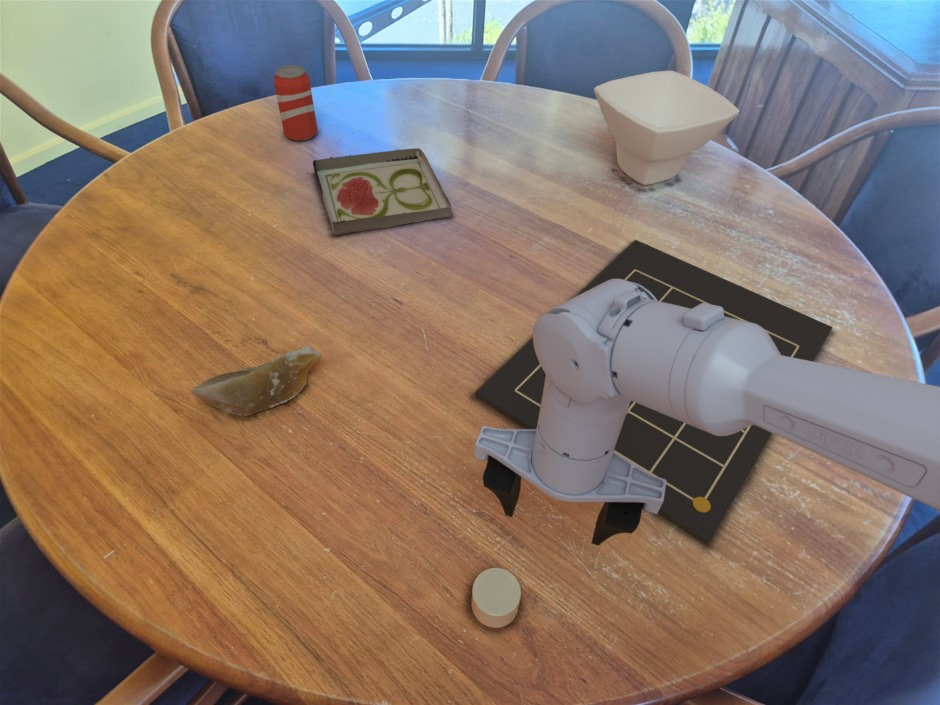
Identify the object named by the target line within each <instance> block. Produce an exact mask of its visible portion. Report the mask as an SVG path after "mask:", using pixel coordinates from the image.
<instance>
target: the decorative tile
mask: <svg viewBox="0 0 940 705" xmlns="http://www.w3.org/2000/svg"><path fill="white" fill-rule="evenodd" d="M312 166H313V171H314V174H315V177H316V180H317V183H318V186H319V189H320V193H321V196H322V199H323V203H324V206H325V209H326V213H327V215H328V216H327V217H328V219H329V221H330V222H329V223H330V226H331V228H332V234H333V235H335V236H341V235H345V234H353V233H358V232H364V231H372V230H379V229H386V228H392V227H396V226H401V225H408V224H412V223H419V222H424V221H430V220H436V219H442V218H443V219H444V218H450V217H451V216H452V208H451V206H452V204H451V202H450V201H449V198H448V197H447V196H446V194H445V191H444V189H443V188H442V186H441V183H440V181H439V179H438V178H437V176H436V173H435V172H434V169H433V168H432V166H431V164H430V162H429V159H428V158H427V156H426V154H425V152H424V151H423V150H422V149H421V148H419V147H417V148H416V147H415V148H405V149H397V148H396V149H394V150H388V151H379V152H378V151H377V152H370V153H369V152H368V153H363V154H362V153H361V154H360V153H359V154H350V155H344V156H343V155H342V156H337V157H334V156H329V158H328V157H327V158H320V159H313V160H312Z"/></svg>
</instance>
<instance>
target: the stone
mask: <svg viewBox="0 0 940 705" xmlns="http://www.w3.org/2000/svg"><path fill="white" fill-rule="evenodd" d="M321 358H322V353H321V352H320V351H317V350H316V349H314V348H313V347H311V346H310V345H305V346H304V347H302V348H299V349H295V350H291V351H289V352H286V353H285V354H283V355H280V356H279V357H277V358H274V359H273V360H272V361H268V362H267V363H264V364H261V365H257V366H249V367H246V368H242V369H240V370H236V371H232V372H226V373H221V374H217V375H215V376H212V377H210V378H208V379H206V380H204V381H203V382H201V383H200V384H199V385H197V386H195V387H193V388H192V389H191V390H190V392H191V394H193V395H194V396H195V397H196V398H198V399H199V400H201V401H202V402H204V403H205V404H207V405H208V406H210V407H212V408H213V407H214V408H215V409H219V410H221V411H223V412H226V413H229V414H231V415H236V416H245V417H248V416H252V415H254V414H257V413H259V412H261V411H265V410H268V409H273V408H274V407H276V406H279V405H281V404H285V403H287V402H289V401H290V400H292V399H294V398H296V397H297V396H298V395H299V393H300V392H301V391H302V390H303V389H304V387H305V386H307V376H308V373H309V372H310V371H311V370H312V368H313V367H314V365H315V364H316V363H317V362H318V361H319V360H320V359H321Z"/></svg>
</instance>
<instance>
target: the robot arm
mask: <svg viewBox="0 0 940 705" xmlns="http://www.w3.org/2000/svg"><path fill="white" fill-rule="evenodd" d="M577 295H578V294H577ZM577 295H575V296H573V297H572V298H570V299H567V300H566V301H564V302H562V303H560V304H558V305H556V306H554V307H553V308H551V309H548V310H547V312H546V313H544V314H542V315H540V316H538V318H537V319H536V321H535V322H534V325H533V327H532V328H533V329H532V338H533V344H534V349H535V352H536V355H537V358H538V361H539V363H540V365H541V367H542V369H543V370H544V372H545V374H546V377H545V383H544V389H543V395H542V401H541V406H540V412H539V418H538V423H537V429H525V428H498V427H497V428H496V427H492V426H487V425H482V427H481V428H480V431H479V434H478V436H477V438H476V441H475V443H474V459H477V460H481V461H483V462H486V461H487V463H486V466H485V469H484V471H483V475H482V482H483V488H484V487H485V488H486V489H488V490H490V491H491V493H493V494H494V495H495V496H496V498H497V499H498V501H499V503H500V505H501V507H502V510H503V512H504V516H506V517H509V518H513V516H514V514H515V510H516V507H517V504H518V501H519V498H520V493H521V486H522V479H524V480H525V481H526V482H528V483H530V484H531V485H533V486H534V487H535V488H537V489H538V490H539V491H541V492H543V493H544V494H545V495H547V496H549V497H550V498H552V499H555V500H558V501H561V502H566V503H603V505H602V508H601V509H600V511H599V513H598V515H597V518H596V522H595V525H594V529H593V535H592V539H591V544H592V545H595V546H600V545H601V544H602V543H604V542H605V541H606V540H608V539H609V538H611V537H613V536H616V535H619V534H633V533H634V532H635V531H636V530H637V529H638V527H639V525H640V523H641V518H642V512H643V510H644V511H645V512H647V513H651V514H654V515H658V511H659V509H660V507H661V505H662V503H663V501H664V495H665V488H666V481H667V480H665V479H662V478H660V477H657V476H654V475H652V474H650V473H648V472H646V471H644V470H643V469H641V468H639V467H638V466H636V465H634V464H633V463H631V462H630V461H628V460H626V459H625V458H623V457H622V456H620V455H618V454H617V453H615V452H614V449H615V446H616V443H617V440H618V437H619V434H620V431H621V428H622V425H623V422H624V419H625V417H626V414H627V411H628V408H629V405H630V402H631V401H633V402H636V403H638V404H640V405H643V406H645V407H648V408H650V409H653V410H655V411H657V412H660V413H662V414H665V415H667V416H669V417H672V418H674V419H677V420H679V421H681V422H684V423H686V424H688V425H691V426H693V427H696V428H698V429H701V430H704V431H706V432H708V433H711V434H713V435H716V436H728V435H731V434H734V433H737V432H739V431H741V430H743V429H745V428H746V427H748V426H751V425H756V426H758V427H760V428H762V429H765V430H767V431H769V432H771V433H772V434H774V435H776V436H777V437H779V438H782V439H784V440H786V441H788V442H789V443H793V444H795V445H797V446H799V447H801V448H803V449H805V450H808V451H809V452H812V453H814V454H816V455H818V456H821V457H822V458H825V459H827V460H829V461H831V462H833V463H835V464H837V465H840V466H842V467H844V468H846V469H849V470H851V471H853V472H855V473H857V474H859V475H861V476H863V477H865V478H867V479H870V480H871V481H874V482H875V483H878V484H881V485H883V486H885V487H888V488H890V489H892V490H894V491H896V492H898V493H900V494H902V495H904V496H906V497H908V498H911V499H913V500H915V501H916V502H920V503H921V504H924V505H925V506H928V507H930V508H932V509H933V510H935V511H937V512H938V514H940V386H937V385H933V384H928V383H927V384H926V383H923V382H917V381H914V380H909V379H908V380H907V379H902V378H898V377H892V376H887V375H882V374H877V373H872V372H868V371H862V370H859V369H852V368H848V367H842V366H837V365H832V364H827V363H822V362H817V361H808V360H803V359H798V358H793V357H788V356H783V355H781V354H780V352H779V351H778V349H777V347H776V345H775V344H774V342H773V340H772V339H771V337H770V336H769V334H768V333H767V332H766V331H765V330H764V329H763V328H762V327H761V326H759V325H757V324H755V323H751V322H746V321H742V320H738V319H733V318H729V317H725V316H724V310H723V308H722V307H720V306H716V305H711V304H707V303H701V304H699V305H698V306H696V307H694V308H692V309H690V308H686V307H682V306H677V305H673V304H669V303H664V302H660V301H657V299H656V298H655V297H654V295H653V294H652V293H651V292H650V291H649V290H647V289H646V288H645V287H643V286H641V285H639V284H637V283H634V282H629V281H626V280H623V279H610V280H608V281H606V282H604V283H602V284H600V285H598V286H596V287H594V288H592V289H590V290H588V291H586V292H584V293H582V294H580V295H578V296H577Z"/></svg>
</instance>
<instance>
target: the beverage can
mask: <svg viewBox="0 0 940 705" xmlns="http://www.w3.org/2000/svg"><path fill="white" fill-rule="evenodd" d="M274 74H275V75H274V80H273V86H274V91H275V95H276V100H277V101H276V102H277V105H278V110H279V114H280V115H279V116H280V120H281V126H282V130H283V134H284V136H285V137H287V138H289V139H290V140H293V141H297V142H304V141H309V140H310V139H312V138H313V137H314V136H316V135H317V134H318V124H317V123H318V122H317V118H316V112H315V104H314V99H313V91H312V86H311V81H310V80H311V79H310V76H309V75H308V74H307V72H306V70H305V67H303V66H300V65H297V64H288V65H281V66H279V67H278V68H276V69H275V73H274Z"/></svg>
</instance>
